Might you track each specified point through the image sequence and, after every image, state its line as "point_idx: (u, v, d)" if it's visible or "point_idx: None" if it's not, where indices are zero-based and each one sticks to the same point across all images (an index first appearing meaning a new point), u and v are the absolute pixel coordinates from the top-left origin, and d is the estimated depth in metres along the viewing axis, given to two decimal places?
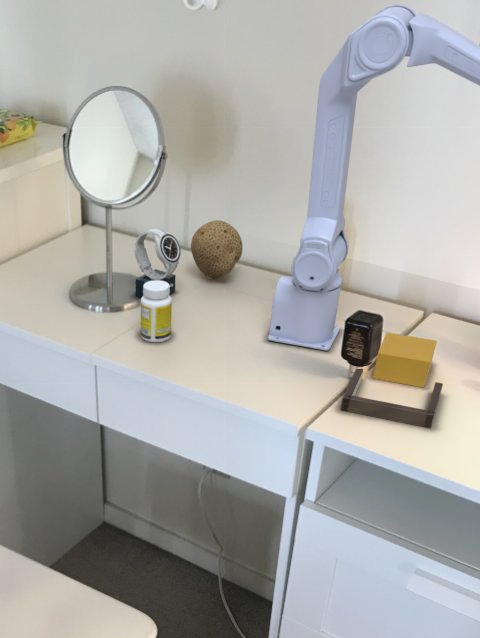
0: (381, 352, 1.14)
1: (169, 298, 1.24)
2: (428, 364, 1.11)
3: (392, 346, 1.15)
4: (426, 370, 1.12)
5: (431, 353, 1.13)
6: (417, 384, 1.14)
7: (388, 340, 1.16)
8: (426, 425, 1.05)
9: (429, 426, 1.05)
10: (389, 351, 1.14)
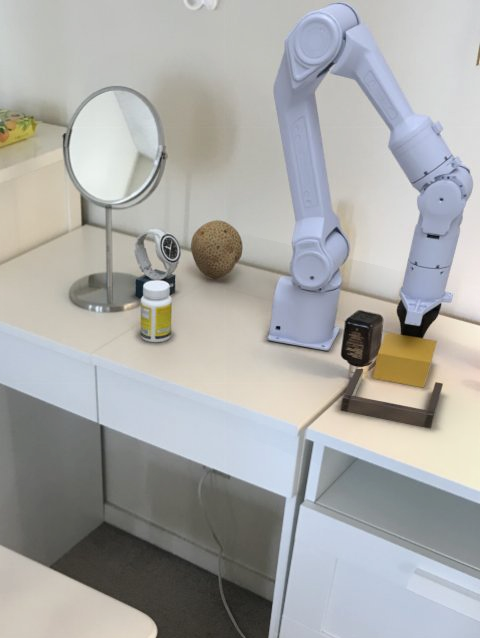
0: (381, 352, 1.14)
1: (169, 298, 1.24)
2: (428, 364, 1.11)
3: (392, 346, 1.15)
4: (426, 370, 1.12)
5: (431, 353, 1.13)
6: (417, 384, 1.14)
7: (388, 340, 1.16)
8: (426, 425, 1.05)
9: (429, 426, 1.05)
10: (389, 351, 1.14)
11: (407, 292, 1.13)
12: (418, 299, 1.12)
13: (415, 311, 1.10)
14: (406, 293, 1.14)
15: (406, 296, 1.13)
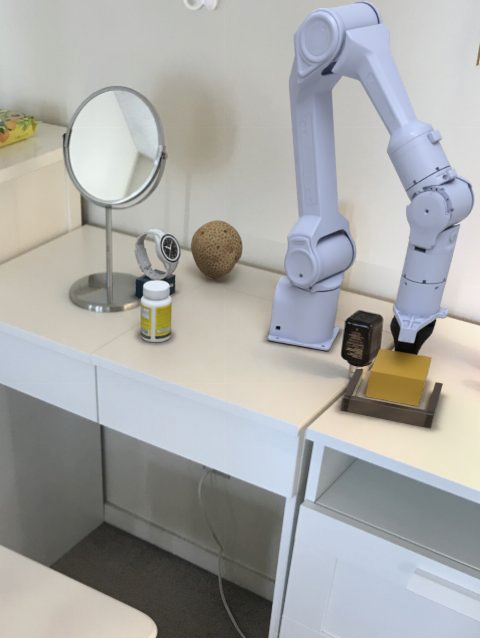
0: (374, 370, 1.10)
1: (169, 298, 1.24)
2: (423, 382, 1.08)
3: (386, 363, 1.11)
4: (421, 388, 1.08)
5: (426, 371, 1.09)
6: (411, 402, 1.10)
7: (381, 357, 1.13)
8: (426, 425, 1.05)
9: (429, 426, 1.05)
10: (382, 369, 1.10)
11: (401, 308, 1.09)
12: (412, 315, 1.08)
13: (409, 328, 1.06)
14: (400, 309, 1.10)
15: (400, 312, 1.10)
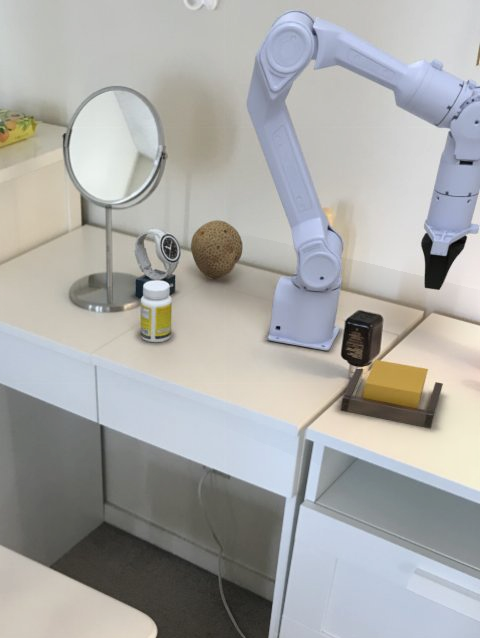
0: (369, 382, 1.07)
1: (169, 298, 1.24)
2: (418, 395, 1.05)
3: (381, 375, 1.08)
4: (416, 401, 1.06)
5: (422, 383, 1.07)
6: None
7: (376, 368, 1.10)
8: (426, 425, 1.05)
9: (429, 426, 1.05)
10: (378, 381, 1.07)
11: (432, 223, 1.11)
12: (444, 230, 1.10)
13: (441, 240, 1.07)
14: (431, 224, 1.11)
15: (431, 227, 1.11)
